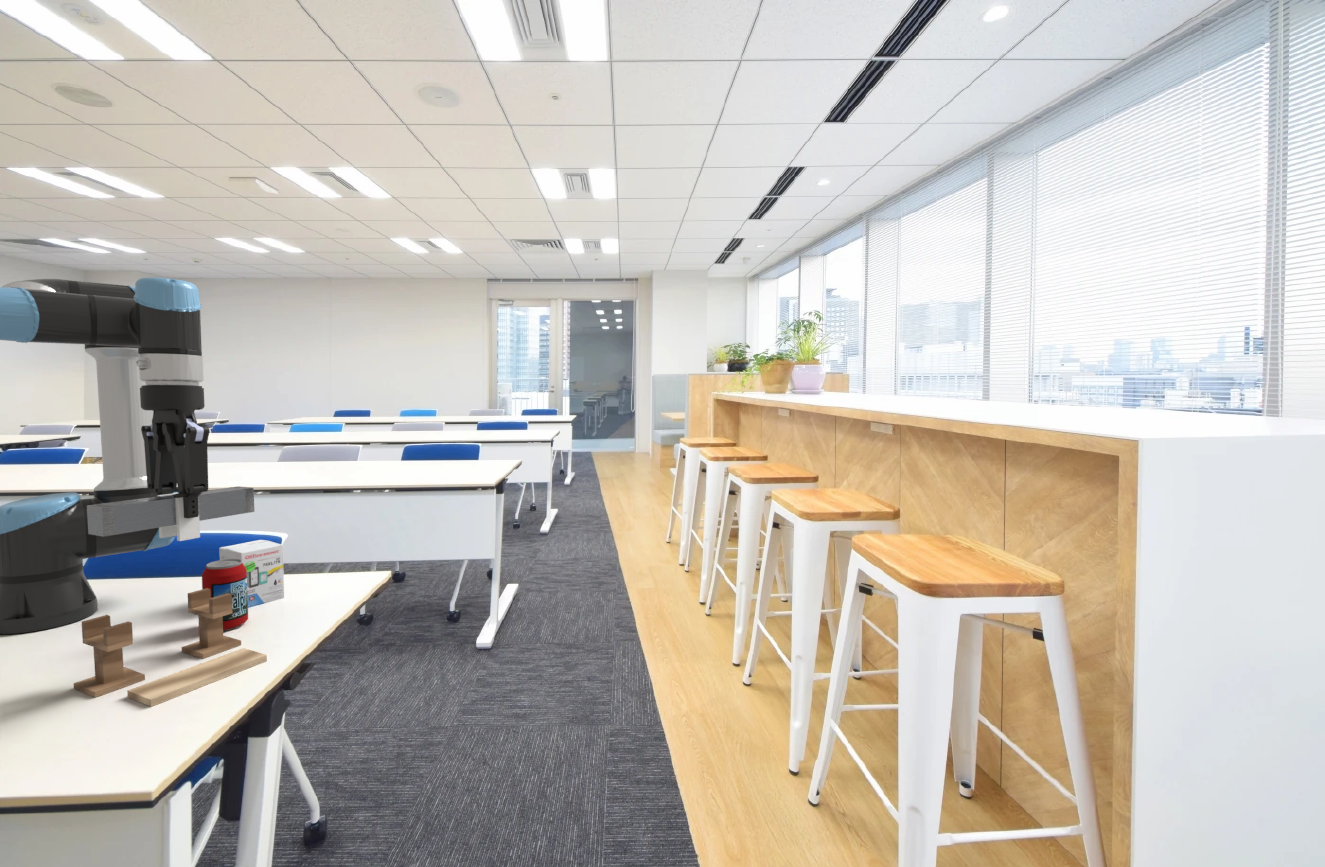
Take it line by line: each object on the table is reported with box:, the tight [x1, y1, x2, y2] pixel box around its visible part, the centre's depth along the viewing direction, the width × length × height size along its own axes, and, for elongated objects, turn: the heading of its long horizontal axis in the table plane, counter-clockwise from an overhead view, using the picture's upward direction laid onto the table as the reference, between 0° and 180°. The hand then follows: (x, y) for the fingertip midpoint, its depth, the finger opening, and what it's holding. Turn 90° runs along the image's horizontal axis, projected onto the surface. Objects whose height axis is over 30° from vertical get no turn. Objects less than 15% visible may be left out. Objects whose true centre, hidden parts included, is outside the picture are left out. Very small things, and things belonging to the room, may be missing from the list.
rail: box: [87, 486, 255, 537], centre depth 92 cm, size 4×20×4 cm, turn 155°
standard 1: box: [73, 614, 146, 698], centre depth 90 cm, size 7×6×10 cm
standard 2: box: [181, 588, 242, 659], centre depth 103 cm, size 7×6×10 cm
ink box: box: [218, 539, 285, 608], centre depth 127 cm, size 8×8×12 cm
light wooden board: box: [126, 647, 268, 707], centre depth 93 cm, size 6×16×1 cm, turn 156°
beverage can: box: [201, 559, 249, 632], centre depth 113 cm, size 7×7×12 cm
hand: (179, 537), depth 93 cm, fingers closed on rail, 4 cm apart
